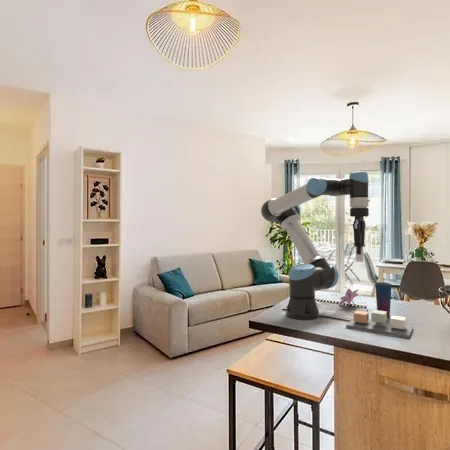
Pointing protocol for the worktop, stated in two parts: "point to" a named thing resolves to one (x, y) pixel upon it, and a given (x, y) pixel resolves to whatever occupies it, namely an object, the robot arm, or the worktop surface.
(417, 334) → the worktop surface
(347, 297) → the lily
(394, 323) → the cream key
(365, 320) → the terracotta key
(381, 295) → the cup
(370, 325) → the board
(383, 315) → the sage key
